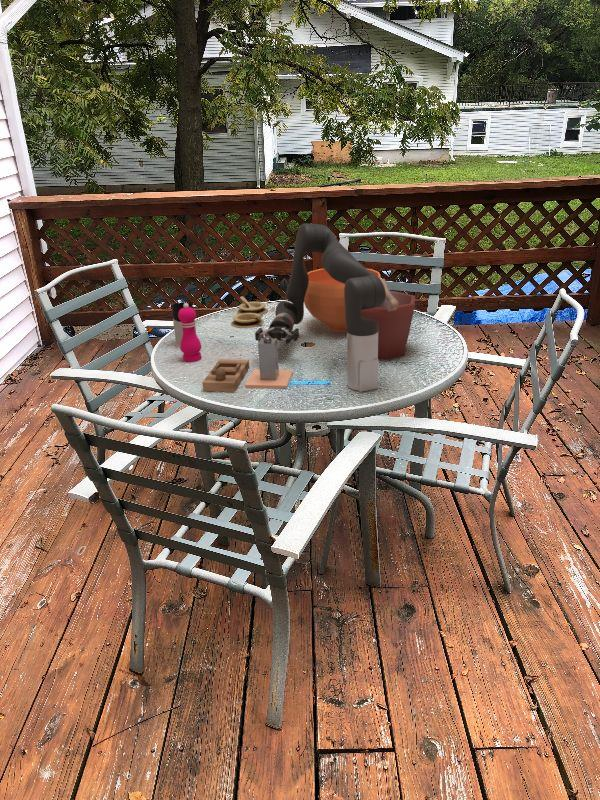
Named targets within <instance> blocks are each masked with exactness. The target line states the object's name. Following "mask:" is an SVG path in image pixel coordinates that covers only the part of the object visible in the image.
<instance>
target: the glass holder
mask: <svg viewBox="0 0 600 800" xmlns="http://www.w3.org/2000/svg"><path fill="white" fill-rule="evenodd" d="M184 303H187V304H188V305H189V307H190V308H193V309H194V306H193V305H194V304H193V303H192V302H189V301H187V302H186V301H185V302H182V301H181V302H177V303H174V304H172V305H171V311H172V321H173V331H174V338H175V344H174V346H175V345H176V346H177V347H176V346H175V347H176V348H178V347H180V344H181V340H182V337H183V328H182V327H181V320H180V319H179V317H178V313H179V311H180V309H182V308H184V307H183V305H184ZM194 321H195V322H196V319H195V320H194ZM195 332H196V333H197V328H196V325H195Z"/></svg>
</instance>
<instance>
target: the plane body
mask: <svg viewBox="0 0 600 800" xmlns="http://www.w3.org/2000/svg"><path fill="white" fill-rule="evenodd" d="M248 369H250V359H234V358H233V359H231V358H230V359H229V358H228V359H225V358H219V359H218V361H217V362H216V363H215V365H214V366H213V367H212V368H211V370H210V372H209V373H208V374H207V376H206V377H205V378H204V379H203V381H202V391H203V392H206V391H227V392H226V393H236V392H237V390H238V388H239V387H238V386H241V383H242V382H243V380H244V378H245V377H244V376H246V375H247V373H248V371H249V370H248ZM245 374H246V375H245ZM241 381H242V382H241ZM235 391H236V392H235Z"/></svg>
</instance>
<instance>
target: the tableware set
mask: <svg viewBox="0 0 600 800" xmlns="http://www.w3.org/2000/svg"><path fill="white" fill-rule="evenodd" d="M239 299H240V300H241V301H242V302H243V303H241V304H239V305H238V310H237V311H236V313H237V314H236V315H234V316H233V317H232V321H231V323H230V324H231V326H232V327H233V328H238V329H252V328H258V327H261V326H262V325H263V324H264V320H263V319H262V317H264V315H266V314H267V313H268V312H269V309H268V308H267V307H266V303H265V302H263V301H248V299H246V298H245V296H240V297H239ZM235 310H236V308H231V310H230V312H234V311H235ZM275 310H276V307H275V306H272V307H271V308H270V313H273V312H275Z"/></svg>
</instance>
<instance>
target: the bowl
mask: <svg viewBox="0 0 600 800" xmlns="http://www.w3.org/2000/svg"><path fill="white" fill-rule="evenodd" d="M365 268H366V269H368V270H369V271H371V272H372V273H373V274H375V275H376V276H377V277H379V279H382V277H381V274H380V271H377V270H374V269H371V268H367V267H365ZM307 273H308V277H309V285H308V288H307V291H306V294H305V298H304V307H305V308H306V310H307V311H308V312H309V313H310V314H311V316H312V317H313V318H315V319H316V320H318V321H319V322H320V323H323V325H325V326H326V327H327V329H328V330H329V331H330V330H331V332H334V331H336V332H335V333H347V325H346V316H345V299H344V287H345V284H344V283H341V282H338V281H336V280H335V279H333V278H332V277H331V276H330V275H329V274H328V273H327V272H326V270H325V269H324V268H319V269H315V270H310V271H307Z"/></svg>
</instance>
